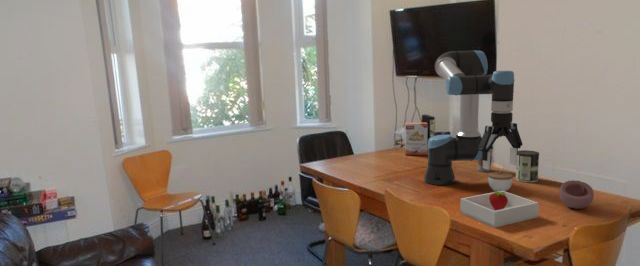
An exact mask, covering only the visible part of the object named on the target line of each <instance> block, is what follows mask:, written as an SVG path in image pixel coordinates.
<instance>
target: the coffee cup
mask: <svg viewBox="0 0 640 266" xmlns="http://www.w3.org/2000/svg"><path fill="white" fill-rule="evenodd" d="M493 149H494V145H492V147H491V148H490V150H489V151H488V152H490V169H489V170H488V169H484V168H483V160H482V158H481V159H480V160H476V161H477V170H478V172H481V173H490V172H491V169H492V167H491V166H492V159H493Z"/></svg>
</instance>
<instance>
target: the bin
mask: <svg viewBox="0 0 640 266" xmlns="http://www.w3.org/2000/svg"><path fill="white" fill-rule="evenodd" d="M494 192H495V191H491V192H489V193H488V192H487V193H483V194H478V195H477V194H476V195H472V196H467V197H462V198H460V204H459V205H460V206H459V207H460V208H459V209H460V210H459V211H460V214H461V215H464V216H467V217H469V218H471V219H473V220H476V221H478V222H480V223H482V224H484V225H487V226H489V227H491V228H499V227H503V226H508V225H511V224H516V223H521V222H524V221H530V220H534V219H538V218H539V206H540V205H539V203H540V202H537V201H534V200H531V199H528V198H525V197H523V196H520V195H517V194H514V193H511V192H505V191H497V192H500V193H501V192H505V193H503V194H505V196H506V197H507V199H508V202H507V205H506V207H505V208H504V209H501V210H496V211H495V210H494V208H493V207H492V205H491V204H490V200H489V197H490V195H491V194H492V193H494Z"/></svg>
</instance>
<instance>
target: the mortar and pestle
mask: <svg viewBox="0 0 640 266" xmlns="http://www.w3.org/2000/svg"><path fill="white" fill-rule="evenodd" d="M558 190H559V191H558V193H559V198H560V200H561V202H562V203H563V204H564V205H565V206H567V207H568V208H572V209H577V210H580V209H585V208H586V207H588V206H589V205H591V204H592V202H593V200H594V196H595V195H594V194H595V192H594V189H593V188H592V186H591V185H590V184H588V183H587V182H583V181H581V180H574V179H572V180H567V181H565V182H563V183H562V184H561V185H560V187H559V189H558Z"/></svg>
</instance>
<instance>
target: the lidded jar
mask: <svg viewBox="0 0 640 266" xmlns="http://www.w3.org/2000/svg"><path fill="white" fill-rule="evenodd" d="M513 178H514V175H513V174H512V173H510V172H506V171H502V170H499V171H489V172H487V182H488V186H489V187H490V189H491V190H492V192H497V191H505V192H507V191H508V190H510V189H511V187H512V185H513ZM500 188H501V189H500Z"/></svg>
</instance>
